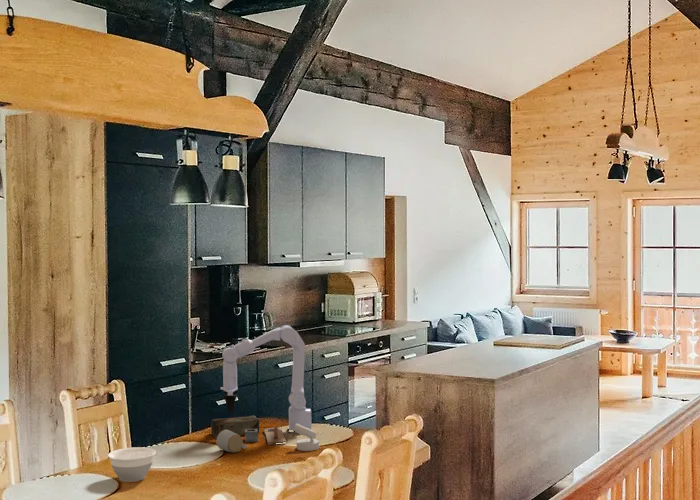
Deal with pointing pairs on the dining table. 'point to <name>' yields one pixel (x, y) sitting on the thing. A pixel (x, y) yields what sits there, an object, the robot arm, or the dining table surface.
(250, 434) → the open square sleeve
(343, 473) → the dining table surface
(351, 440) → the dining table surface
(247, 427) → the beverage carton
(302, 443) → the white round-based angled piece
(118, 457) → the bowl
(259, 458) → the dining table surface
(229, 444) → the ceramic mug
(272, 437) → the board
